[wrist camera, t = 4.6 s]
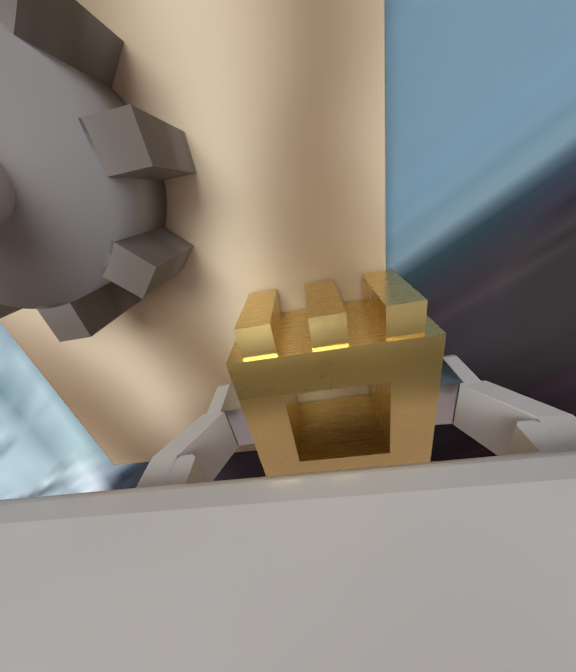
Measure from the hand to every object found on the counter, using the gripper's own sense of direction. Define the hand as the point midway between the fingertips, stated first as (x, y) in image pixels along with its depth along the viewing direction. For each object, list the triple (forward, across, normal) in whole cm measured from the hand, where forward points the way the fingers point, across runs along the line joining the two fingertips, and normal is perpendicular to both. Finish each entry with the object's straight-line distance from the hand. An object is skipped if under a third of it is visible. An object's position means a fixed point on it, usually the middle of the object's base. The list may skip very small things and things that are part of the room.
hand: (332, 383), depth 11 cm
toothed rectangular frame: (+1, 0, 0) cm, 1 cm away
